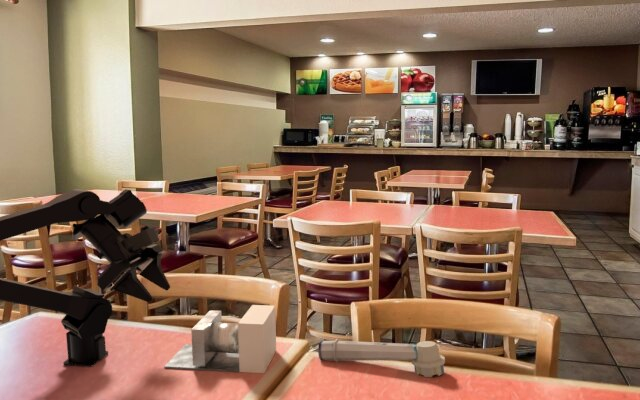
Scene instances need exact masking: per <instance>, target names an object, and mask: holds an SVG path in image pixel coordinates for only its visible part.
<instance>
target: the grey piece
mask: <svg viewBox="0 0 640 400" xmlns="http://www.w3.org/2000/svg"><path fill="white" fill-rule="evenodd" d="M222 317H223V316H222V310H209V311H208V312H207V313H206V314H205V315H204V316H203V317H201V319H200V320H199V321H198V322H197V323H196V324H195V325H194V326H193V327H192V328H191V329H190V331H191V344H192V356H193V366H205V365H206V364H207V363H208V362H209V360H210V359H211V358H212V357H213V355H214V354H215V353H216V352H218V353H239V339H238V323H239V322H238V323H236V322H234V323H233V322H222Z"/></svg>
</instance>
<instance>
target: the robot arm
mask: <svg viewBox="0 0 640 400" xmlns="http://www.w3.org/2000/svg"><path fill="white" fill-rule="evenodd" d="M147 211H148V210H147V208H146V205H145V203H144V202H143V201H141V200H140V198H139V197H137V196H136V195H135V194H134V193H133V192H132V190H131V189H123V190H122V191H121V192H120V193H119V194H117V195H116V196H115V197H114V198H112V199H110V200H109V201H104V200H101V199H100V196H99V195H98V194H97V193H95V192H93V191H91V190H85V189H77V188H74V189H71V190H70V189H69V190H67V191H65V192H63V193H61V194H59V195H57V196H55V197H54V198H53V199H51V200H50V201H48V202H45V203H43V204H40V205H37V206H34V207H33V206H32V207H30V208H26V209H23V210H20V211H16V212H12V213H8V214H6V215H1V216H0V242H1V241H4V240H7V239H11V238H13V237H17V236H20V235H23V234H26V233H30V232H33V231H35V230H38V229H42V228H44V227H49V226H52V225H54V224H63V223H72V227H71V228H72V233H71V240H72V241H76V240H78V239H79V238H81V237H82V236H83V237H84V238H85V239H87V241H88V242H89V243H90V244H91V245H92V246H93V247H94V248H95V249H96V250H97V251H98V252H99V253H98V255H97V258H98V259H99V260H103V259H105V260H106V261H107V263H109V264H108V265H107V266H106V267H105V268H104V269H103V270H102V272H101V273H100V274H99V275H98V276H97V277H96V285H97V287H99V288H100V289H101V290H102V291H103V292H104V291H107V290H110V291H111V292H113V291H114V292H118V293H121V294H124V295H127V296H130V297H132V298H133V297H134V298H135V299H139V300H140V301H141V300H142V301H145V302H147V303H151V302H152V301H153V299H154V298H153V296H152V295H151V293H150V292H149V290H147V287H146V286H144V284H143V283H142V281H141V280H140V278H138V275H139V276H140V277H142V278H144V279H146V280H147V281H149V282H151V283H152V284H154V285H156V286H157V287H159V288H160V289H163V290H165V291H166V292H167V291H168V290H170V289H171V285H170V283H169V280H168V278H167V277H166V275H165V272H164V271H163V268H162V265H161V261H162V257H163V253H164V251H165V250H164V249H163V247H161V245H159V244H157V242H159V241H160V238H159V233H160V230H159V229H157V228H156V226H153V225H152V224H146V225H145V226H142V227H141V228H140V232H137V233H135V234H133V235H131V234H130V233H127V232H125V233H122V232H121V231H120V230H119V228H122V229H127V228H129V226H131V225H133V224H134V223H135V222H136V221H138V220H140V218H142V217H143V216H145V215H146V214H147ZM81 221H83V222H81ZM73 222H81V223H73ZM155 243H156V244H155ZM137 271H139V272H140V273H138V275H137ZM105 296H106V295H105V294H104V293H101V292H98V291H97V290H94V289H93V288H82V287H79V286H78V285H73V287H72V291H59V290H55V289H52V288H47V287H43V286H40V285H39V286H38V285H34V284H30V283H25V282H21V281H16V280H12V279H7V278H4V277H0V301H2V302H3V301H4V302H6V303H12V304H16V305H24V306H28V307H31V308H32V307H33V308H37V309H43V310H46V311H48V310H49V311H54V312H58V313H63V314H65V315H64V316H63V318H62V319H61V321H60V323H61V325H62V326H63V329H65V331H67V332H66V334H65V335H66V349H67V350H66V351H67V359H65V361H63V362H62V363H63V365H64V366H79V367H93V366H95V365H96V364H97V363H98V362H100V361H101V360H102V359H104V358H105V357H106V356H107V355H108V354H109V351H108V350H106V349H107V347H106V337H105V335H103V334H105V332H106V328H107V325H108V324H107V323H108V321H109V319H110V317H111V315H112V313H113V305H112V303H111V301H110V300H109V299H107V298H105Z"/></svg>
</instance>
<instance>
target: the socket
mask: <svg viewBox="0 0 640 400" xmlns="http://www.w3.org/2000/svg"><path fill="white" fill-rule="evenodd" d="M276 326H277V324H276V305H267V304H266V305H261V304H251V306H250V308H249V309H248V310H247V311H246V312H245V314H244V315H243V316H242V318H241V319H240V320H239V321H238V339H239V370H240V372H239V373H249V374H250V373H253V374H265V373H266V371H267V369H268V367H269V366H270V363H271V362H272V360H273V358H274V355H275V353H276V351H277V334H276V333H277V330H276V329H277V328H276Z"/></svg>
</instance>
